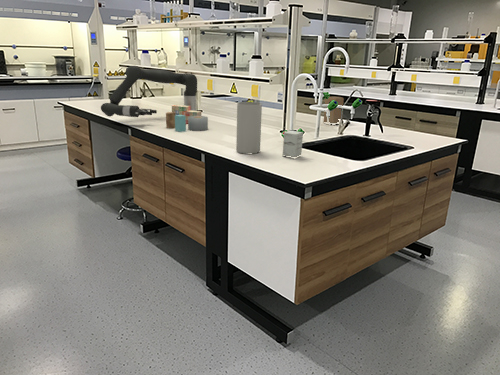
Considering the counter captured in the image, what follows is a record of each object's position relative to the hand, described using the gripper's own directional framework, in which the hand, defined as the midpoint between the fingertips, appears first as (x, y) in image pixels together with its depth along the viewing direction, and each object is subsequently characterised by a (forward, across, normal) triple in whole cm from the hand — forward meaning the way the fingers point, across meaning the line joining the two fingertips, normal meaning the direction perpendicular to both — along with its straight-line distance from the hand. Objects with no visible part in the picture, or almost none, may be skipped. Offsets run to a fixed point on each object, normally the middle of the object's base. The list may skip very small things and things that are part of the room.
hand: (154, 112), depth 265 cm
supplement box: (+95, -59, +9) cm, 112 cm away
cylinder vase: (+72, -54, +10) cm, 90 cm away
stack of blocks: (+16, +20, +10) cm, 28 cm away
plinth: (+30, 0, +9) cm, 31 cm away
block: (+121, +50, +8) cm, 131 cm away
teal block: (+21, -9, +10) cm, 25 cm away
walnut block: (+12, 0, +10) cm, 15 cm away
